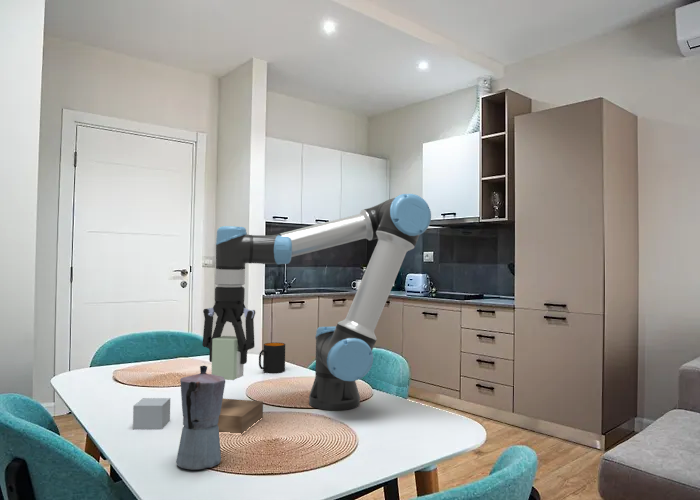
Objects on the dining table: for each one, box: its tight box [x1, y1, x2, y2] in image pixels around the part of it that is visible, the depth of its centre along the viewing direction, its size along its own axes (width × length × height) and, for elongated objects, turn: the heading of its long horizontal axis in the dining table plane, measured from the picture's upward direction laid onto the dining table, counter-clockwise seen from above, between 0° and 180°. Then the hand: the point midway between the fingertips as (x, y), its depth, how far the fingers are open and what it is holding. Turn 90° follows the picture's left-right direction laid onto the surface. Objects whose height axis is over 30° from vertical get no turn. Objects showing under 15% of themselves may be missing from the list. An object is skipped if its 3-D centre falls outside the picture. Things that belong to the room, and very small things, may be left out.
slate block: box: [132, 397, 171, 431], centre depth 131 cm, size 7×7×6 cm
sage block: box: [211, 335, 240, 381], centre depth 132 cm, size 6×6×10 cm
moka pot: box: [175, 365, 226, 471], centre depth 106 cm, size 10×15×20 cm, turn 2°
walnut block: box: [217, 397, 264, 434], centre depth 132 cm, size 14×14×5 cm
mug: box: [258, 342, 286, 374], centre depth 195 cm, size 8×12×10 cm
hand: (227, 375), depth 132 cm, fingers closed on sage block, 6 cm apart
